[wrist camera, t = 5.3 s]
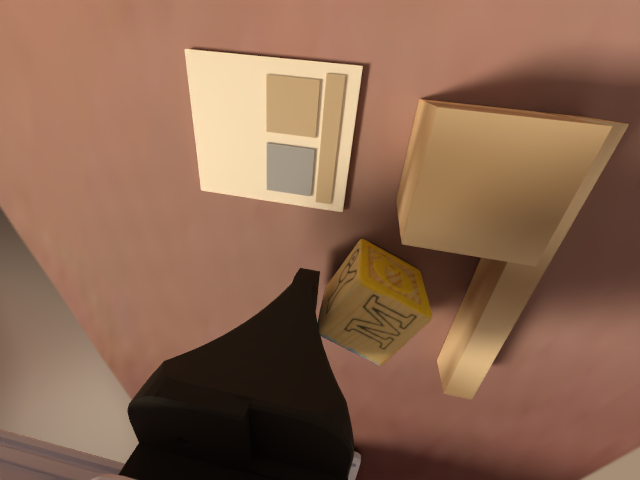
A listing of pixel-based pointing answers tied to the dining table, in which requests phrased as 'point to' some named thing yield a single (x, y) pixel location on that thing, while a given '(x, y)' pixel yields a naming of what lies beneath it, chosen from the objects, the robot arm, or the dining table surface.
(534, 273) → the backstop
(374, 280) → the alphabet block
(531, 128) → the maple cube
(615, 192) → the dining table surface
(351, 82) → the card
